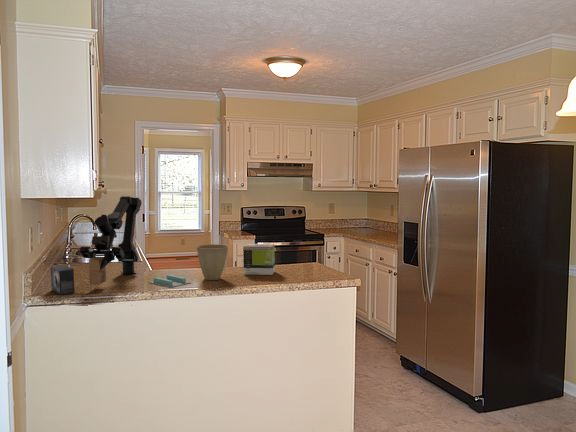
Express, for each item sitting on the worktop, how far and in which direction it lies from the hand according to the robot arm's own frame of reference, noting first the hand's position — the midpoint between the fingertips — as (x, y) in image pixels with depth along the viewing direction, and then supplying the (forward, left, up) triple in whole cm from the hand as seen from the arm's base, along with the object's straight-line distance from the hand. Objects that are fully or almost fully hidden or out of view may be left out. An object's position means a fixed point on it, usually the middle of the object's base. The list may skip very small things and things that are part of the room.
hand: (96, 268), depth 211 cm
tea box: (-1, +79, -10) cm, 79 cm away
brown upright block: (-1, +1, -7) cm, 7 cm away
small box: (-3, -13, -10) cm, 17 cm away
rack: (+1, +32, -9) cm, 33 cm away
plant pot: (+1, +53, -10) cm, 54 cm away
